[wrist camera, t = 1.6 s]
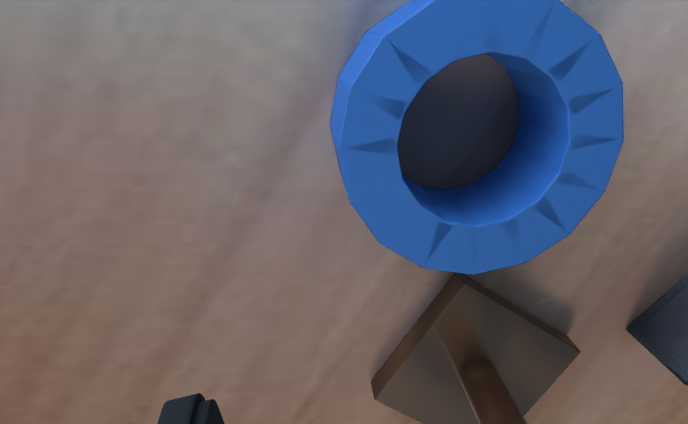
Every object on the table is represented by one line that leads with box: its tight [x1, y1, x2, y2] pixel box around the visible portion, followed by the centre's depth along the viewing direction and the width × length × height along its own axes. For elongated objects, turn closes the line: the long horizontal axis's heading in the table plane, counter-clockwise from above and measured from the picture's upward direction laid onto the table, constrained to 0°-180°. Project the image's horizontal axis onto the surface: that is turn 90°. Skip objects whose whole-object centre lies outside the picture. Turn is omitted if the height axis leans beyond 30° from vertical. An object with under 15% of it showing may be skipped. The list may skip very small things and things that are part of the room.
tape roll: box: [330, 0, 624, 275], centre depth 22 cm, size 11×11×5 cm
